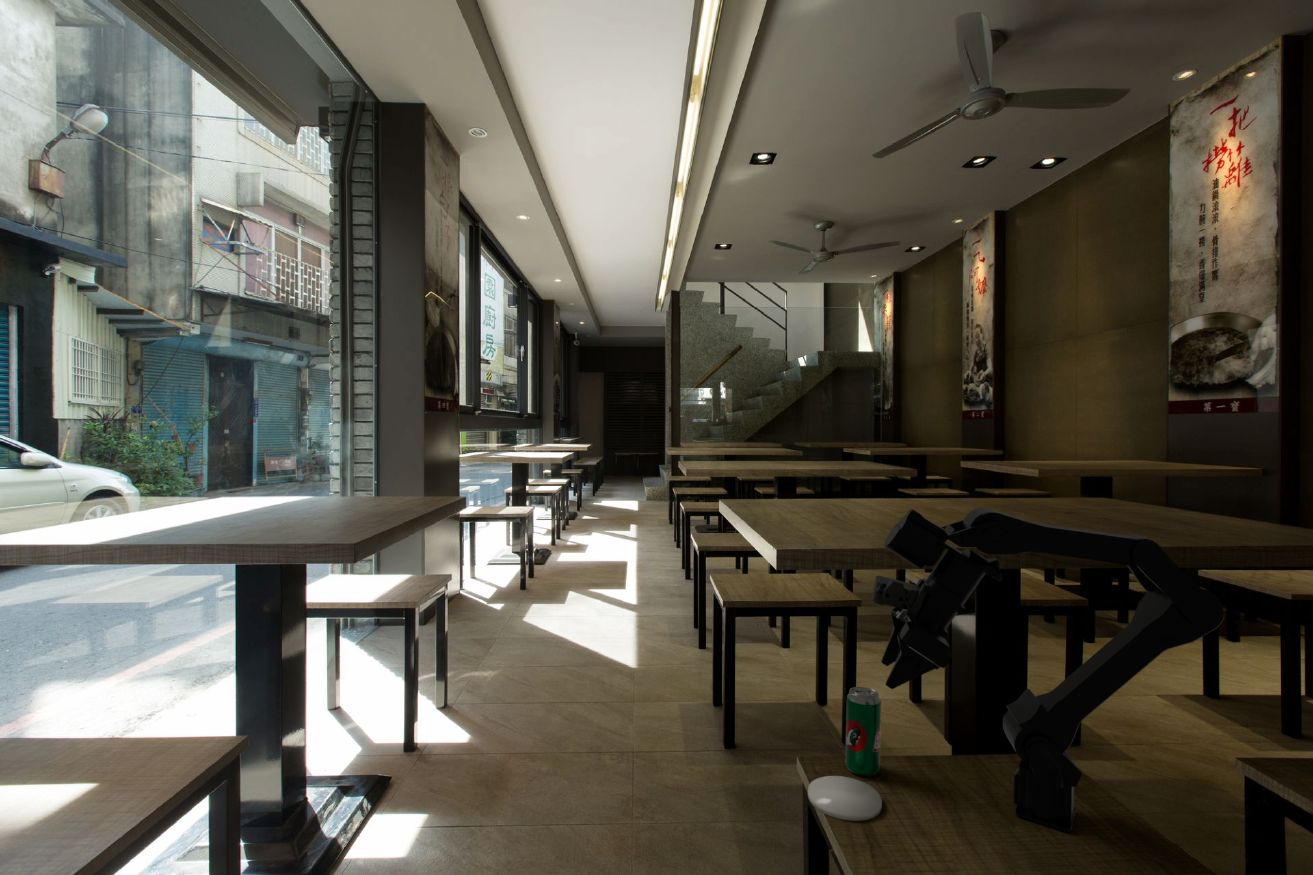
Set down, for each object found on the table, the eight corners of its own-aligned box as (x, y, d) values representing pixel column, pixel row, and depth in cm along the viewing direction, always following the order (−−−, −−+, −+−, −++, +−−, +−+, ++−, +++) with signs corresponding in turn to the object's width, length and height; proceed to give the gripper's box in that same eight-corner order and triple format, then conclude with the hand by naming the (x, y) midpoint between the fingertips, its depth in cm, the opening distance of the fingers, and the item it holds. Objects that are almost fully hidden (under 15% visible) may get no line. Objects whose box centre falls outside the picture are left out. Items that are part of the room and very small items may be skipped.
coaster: (891, 797, 94) (891, 791, 94) (867, 830, 86) (867, 824, 86) (824, 774, 100) (824, 768, 100) (796, 803, 92) (796, 797, 92)
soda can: (881, 780, 99) (883, 700, 99) (846, 776, 100) (848, 696, 100) (877, 763, 104) (879, 687, 104) (843, 759, 105) (845, 684, 105)
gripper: (891, 544, 104) (837, 624, 107) (902, 567, 86) (837, 663, 89) (956, 584, 102) (899, 665, 104) (982, 618, 84) (912, 715, 86)
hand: (886, 675), depth 96 cm, fingers open, 9 cm apart
